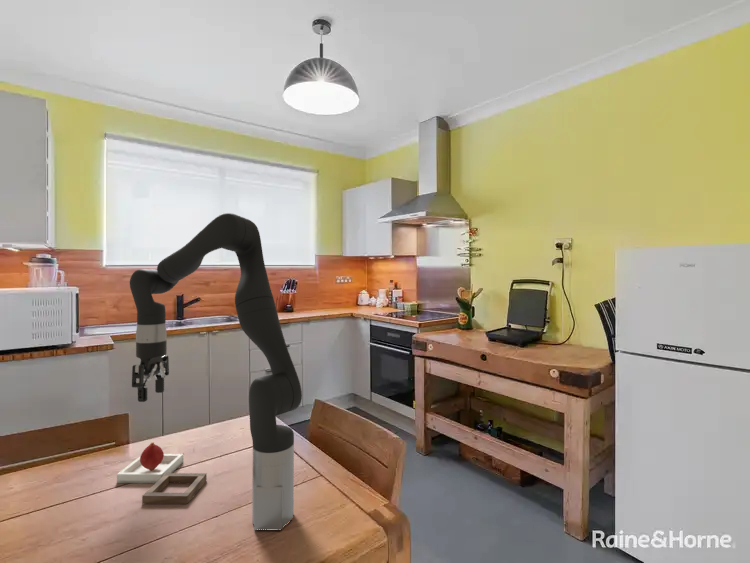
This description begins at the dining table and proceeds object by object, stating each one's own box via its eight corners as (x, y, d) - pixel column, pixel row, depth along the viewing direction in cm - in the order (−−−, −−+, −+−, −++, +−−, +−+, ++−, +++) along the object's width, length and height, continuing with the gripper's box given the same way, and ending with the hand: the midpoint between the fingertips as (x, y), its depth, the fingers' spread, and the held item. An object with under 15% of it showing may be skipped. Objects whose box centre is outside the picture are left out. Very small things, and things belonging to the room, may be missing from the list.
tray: (161, 483, 105) (161, 474, 105) (116, 483, 105) (116, 474, 105) (183, 462, 117) (183, 454, 117) (143, 461, 117) (143, 453, 117)
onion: (135, 472, 110) (135, 443, 109) (155, 463, 115) (155, 436, 115) (148, 477, 107) (148, 448, 107) (167, 468, 112) (167, 440, 112)
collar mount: (187, 504, 95) (187, 496, 95) (142, 503, 95) (142, 495, 95) (206, 480, 106) (206, 473, 106) (166, 480, 106) (166, 473, 106)
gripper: (150, 343, 103) (150, 404, 103) (177, 336, 118) (177, 389, 118) (122, 343, 103) (122, 404, 103) (152, 335, 118) (152, 389, 118)
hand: (151, 396), depth 111 cm, fingers open, 8 cm apart
